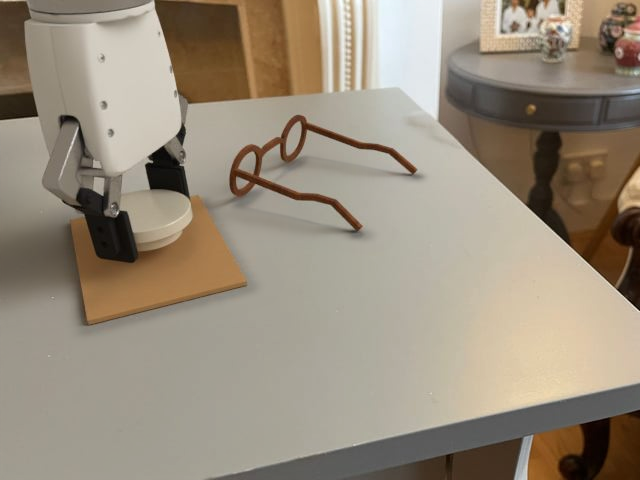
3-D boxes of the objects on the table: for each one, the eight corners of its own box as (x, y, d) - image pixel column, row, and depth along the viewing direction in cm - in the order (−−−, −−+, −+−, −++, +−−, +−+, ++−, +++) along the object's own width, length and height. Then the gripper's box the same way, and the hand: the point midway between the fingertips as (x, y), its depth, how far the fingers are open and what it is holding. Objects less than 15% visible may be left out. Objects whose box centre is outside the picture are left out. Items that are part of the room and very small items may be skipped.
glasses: (302, 154, 68) (298, 107, 66) (417, 174, 64) (419, 125, 61) (229, 206, 59) (220, 154, 56) (360, 234, 54) (358, 179, 51)
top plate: (79, 251, 49) (71, 225, 48) (133, 208, 55) (127, 184, 54) (166, 263, 47) (160, 237, 46) (211, 218, 53) (207, 194, 52)
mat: (70, 223, 56) (69, 219, 56) (199, 198, 60) (198, 194, 60) (88, 325, 44) (86, 320, 44) (247, 285, 48) (246, 280, 48)
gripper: (115, -35, 49) (162, 182, 59) (-72, 12, 35) (30, 287, 45) (207, -32, 47) (239, 191, 57) (49, 19, 33) (127, 302, 43)
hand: (147, 231), depth 51 cm, fingers closed on top plate, 7 cm apart
